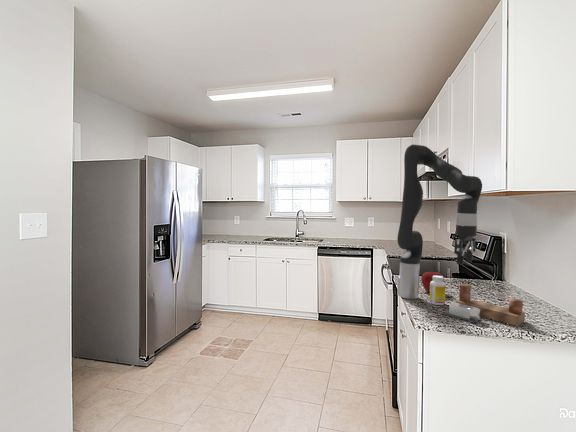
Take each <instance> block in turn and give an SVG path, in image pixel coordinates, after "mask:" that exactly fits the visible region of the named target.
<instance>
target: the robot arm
mask: <svg viewBox="0 0 576 432" xmlns="http://www.w3.org/2000/svg"><path fill="white" fill-rule="evenodd" d="M403 156H404V157H403V162H404V163H403V164H404V165H403V166H404V170H403V171H404V174H403V175H404V176H403V178H404V179H403V191H402V202H401V203H402V204H401V205H402V206H401V215H400V223H399V226H398V232H397V239H396V240H397V241H396V242H397V244H398V247H399V248H400V249H402V250H405V252H404V253H403V254H402V255H400V257H399V276H397V287H396V289H397V290H396V293H397V294H396V295H397V297H398V296H399V297H400V298H403V299H408V300H417V299H419V294H420V293H419V292H420V290H419V289H420V288H419V287H420V262H421V259H422V256H423V254H422V253H423V247H424V246H423V245H424V240H423V235H422V234H421V232H419V231H418V230H413V227H414V222H415V219H416V217H417V216H418V214H419V212H420V210H421V208H422V205H423V202H424V201H423V199H424V190H423V187H422V184H421V181H420V179H419V176H418V175H419V174H418V165H421V166H422V165H423V166H425V167H429V168H430V169H432V170H433V172H434V173H435V175H437V177H438V178H440V179H442V180H443V181H445V182H446V183H448V184H449V185H450V186H451V187H452V189H454V190H455V191H456V192H459V193H462V194H464V196H463V198H462V199H459V200H458V201H457V211H456V218H455V220H456V221H455V235H456V237H457V236H458V237H459V238H455V239H454V251H453V252H454V253H453V254H455V255H456V265H460V266H463V265H464V257H465V262H466V263H470V264H471V263H472V262H473V254H474V253H475V252H476V239H477V238H476V237H477V234H478V233H477V231H478V230H477V229H478V216H477V215H478V202H479V199H480V197H481V195H482V190H483V183H482V180H481V179H480V178H479V177H478V176H473V175H465V174H463V171H462V170H461V169H459V168H458V167H456V166H455V165H454V164H451V163H449V162H447V161H445V160H444V159H442V158H441V157H440V156H438V154H436V153H435V152H434V151H433V150H432V149H430V148H429V147H428V146H425V145H421V144H413V143H412V144H410V145H408V146H407V147H406V149H405V150H404V155H403ZM465 252H466V253H465ZM464 255H465V256H464Z"/></svg>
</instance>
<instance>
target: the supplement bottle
mask: <svg viewBox="0 0 576 432" xmlns="http://www.w3.org/2000/svg"><path fill="white" fill-rule="evenodd" d="M432 278H433V281H431V282H430V293H429V303H430V304H431V305H436V306H444V305H445V304H446V283H445V282H443V279H444V276H443V277H442V276H437V275H434V276H433V277H432ZM444 280H445V279H444Z"/></svg>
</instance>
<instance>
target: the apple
mask: <svg viewBox="0 0 576 432" xmlns="http://www.w3.org/2000/svg"><path fill="white" fill-rule="evenodd" d="M434 275H437V276H442V277H444V275H443V274H442V273H440V272H437V271H436V272H435V271H426V272H424V273H423V274H422V275H421V277H420V279H421V284H422V287H423V289H424V290H425V291H426V292H427V293H428V294H430V282H431V281H433V278H432V277H433V276H434ZM444 281H445V279H443V282H444ZM444 283H445V282H444Z"/></svg>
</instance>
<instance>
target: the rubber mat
mask: <svg viewBox="0 0 576 432" xmlns="http://www.w3.org/2000/svg"><path fill="white" fill-rule="evenodd" d="M443 315H444V316H447V317H450V316H451V318H454V317H455V318H454V319H457V318H459V319H458V320H461V319H463V320H462V321H465V320H467V321H466V322H468V321H471V322H470V323H472V322H475V323H477V322H476V321H474V320H469V319H466V318H462V317H458V316H455V315H451V314H449V310H447V311H445V312H443ZM480 319H481V320H482V317H480Z"/></svg>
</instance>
